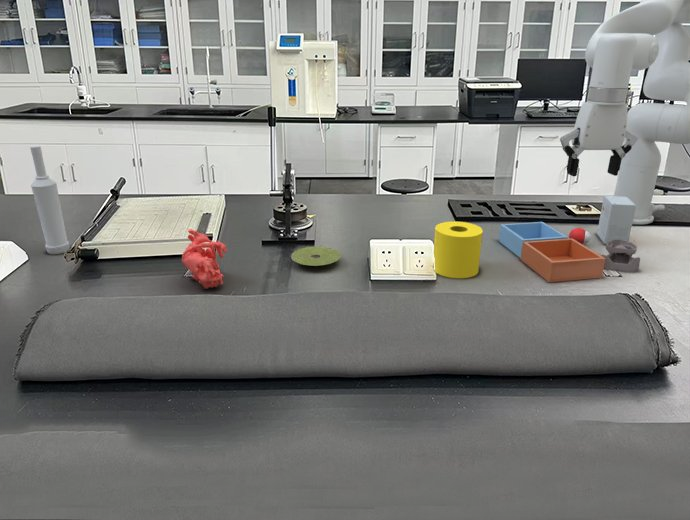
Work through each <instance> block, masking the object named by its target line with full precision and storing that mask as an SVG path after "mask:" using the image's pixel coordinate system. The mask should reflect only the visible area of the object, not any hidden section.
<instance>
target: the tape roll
mask: <svg viewBox="0 0 690 520" xmlns="http://www.w3.org/2000/svg"><path fill="white" fill-rule="evenodd" d="M483 232H484V231H483V228H482V227H480V226H479V225H478V224H474V223H471V222H467V221H444V222H440V223H437V225H435V227H434V241H433V254H434V257H435V266H436V268H435V271H434V272H435V273H436V274H437V275H440V276H442V277H446V278H450V279H467V278H472V277H475V276H477V275H478V274H479V270H480V269H479V267H480V259H481V250H482V240H483Z"/></svg>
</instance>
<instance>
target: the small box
mask: <svg viewBox="0 0 690 520" xmlns="http://www.w3.org/2000/svg"><path fill="white" fill-rule="evenodd" d="M600 209H601V210H600V215H599V221H598V226H597V231H596V234H597V236H598V238H599V239H600V240H601V242H602V243H603V244H604V245H606V244H607V242H609V241H611V240H614V239H615V240H624V241H628V242H630V237H631V232H632V229H633V224H632V223H633V218H634V213H635V209H636V205H635V204H634V203H633V202H632V201H631V200H630V199H629V198H627V197H620V196H614V195H603V199H602V204H601V208H600Z"/></svg>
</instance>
